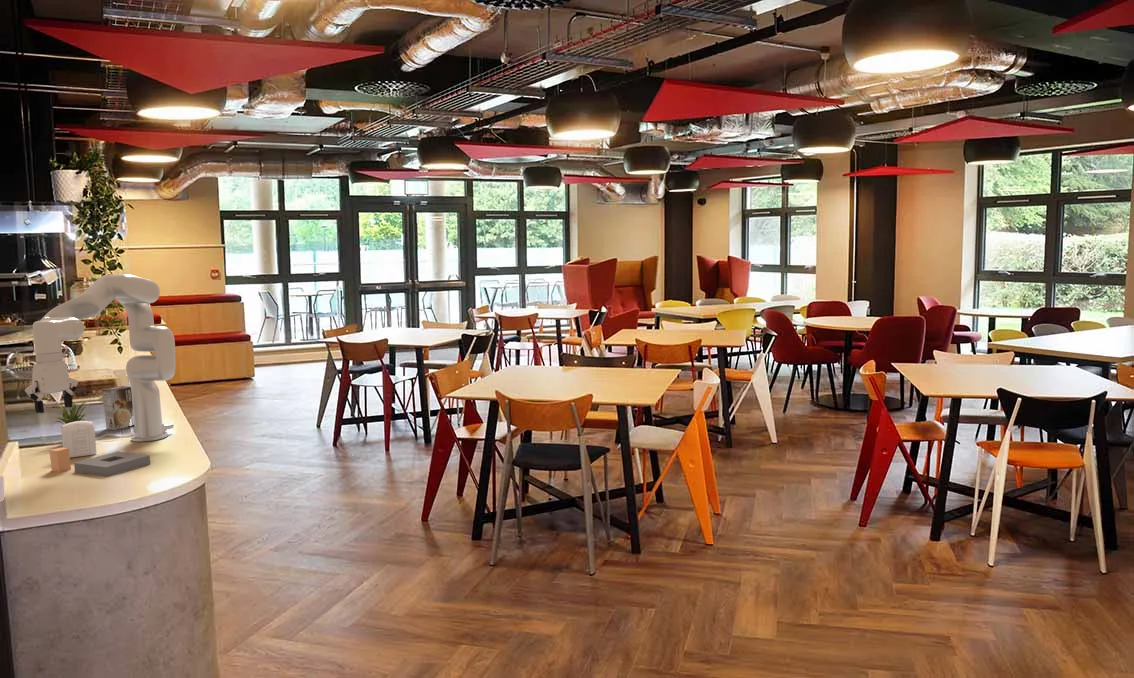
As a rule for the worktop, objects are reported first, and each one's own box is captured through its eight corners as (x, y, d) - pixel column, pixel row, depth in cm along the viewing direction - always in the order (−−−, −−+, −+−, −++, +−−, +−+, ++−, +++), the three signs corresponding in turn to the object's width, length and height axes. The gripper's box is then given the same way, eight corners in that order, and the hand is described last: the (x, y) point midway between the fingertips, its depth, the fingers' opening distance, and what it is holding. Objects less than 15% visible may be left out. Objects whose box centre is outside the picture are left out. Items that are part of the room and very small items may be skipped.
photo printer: (96, 452, 317) (92, 418, 315) (97, 454, 313) (94, 420, 312) (63, 457, 311) (59, 422, 310) (64, 459, 308) (60, 424, 306)
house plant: (105, 437, 342) (101, 395, 340) (87, 445, 328) (83, 402, 326) (68, 438, 341) (63, 396, 339) (48, 447, 328) (43, 403, 326)
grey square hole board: (118, 459, 305) (118, 451, 304) (150, 463, 297) (149, 455, 297) (74, 471, 290) (73, 462, 290) (106, 476, 283) (106, 467, 283)
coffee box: (127, 424, 365) (123, 385, 363) (136, 425, 362) (132, 386, 360) (105, 428, 357) (101, 389, 355) (114, 430, 354) (110, 390, 352)
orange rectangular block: (63, 467, 296) (61, 447, 295) (70, 468, 295) (68, 448, 294) (51, 470, 293) (49, 450, 292) (59, 472, 291) (57, 451, 290)
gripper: (67, 354, 298) (72, 404, 300) (15, 361, 283) (21, 414, 285) (81, 355, 295) (86, 405, 297) (30, 362, 280) (35, 415, 282)
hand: (54, 409), depth 291 cm, fingers open, 9 cm apart
